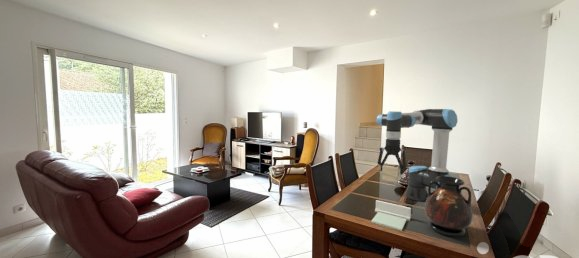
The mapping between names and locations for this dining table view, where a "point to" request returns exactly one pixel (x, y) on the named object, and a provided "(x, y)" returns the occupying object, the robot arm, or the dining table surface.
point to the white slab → (393, 209)
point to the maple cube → (390, 172)
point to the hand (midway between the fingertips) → (391, 177)
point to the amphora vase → (448, 207)
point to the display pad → (389, 221)
